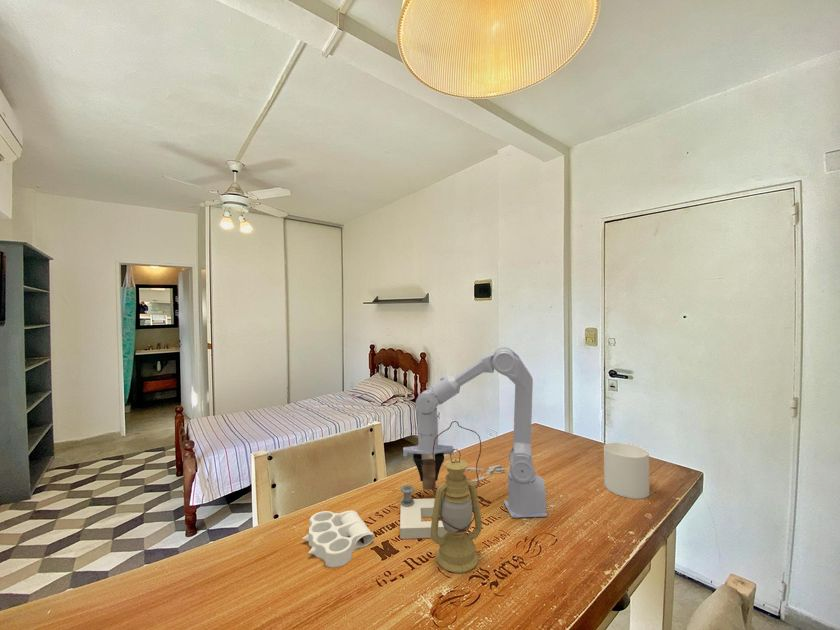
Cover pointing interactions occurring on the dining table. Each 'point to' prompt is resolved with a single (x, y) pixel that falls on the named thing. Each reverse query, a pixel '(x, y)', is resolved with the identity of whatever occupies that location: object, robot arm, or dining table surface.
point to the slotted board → (416, 516)
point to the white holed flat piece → (336, 536)
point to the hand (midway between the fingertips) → (428, 479)
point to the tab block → (428, 474)
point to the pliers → (488, 471)
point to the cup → (626, 470)
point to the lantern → (456, 517)
